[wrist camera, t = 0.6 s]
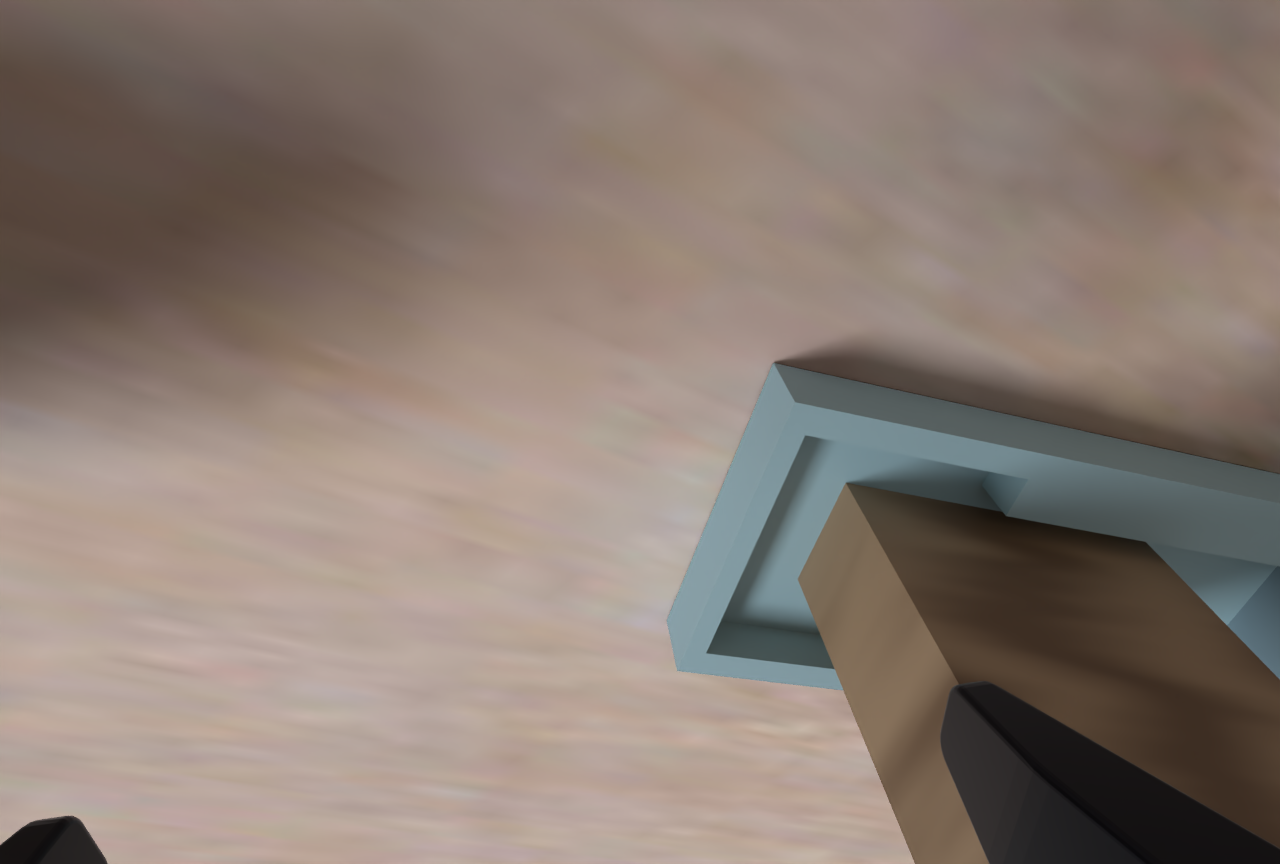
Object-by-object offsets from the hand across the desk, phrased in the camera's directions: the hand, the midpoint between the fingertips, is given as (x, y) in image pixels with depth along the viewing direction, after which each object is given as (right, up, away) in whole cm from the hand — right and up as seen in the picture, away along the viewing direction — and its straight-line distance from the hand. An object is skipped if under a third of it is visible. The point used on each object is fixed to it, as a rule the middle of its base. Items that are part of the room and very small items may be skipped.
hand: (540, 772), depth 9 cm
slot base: (+13, 0, +18) cm, 22 cm away
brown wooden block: (+11, 0, +16) cm, 20 cm away
